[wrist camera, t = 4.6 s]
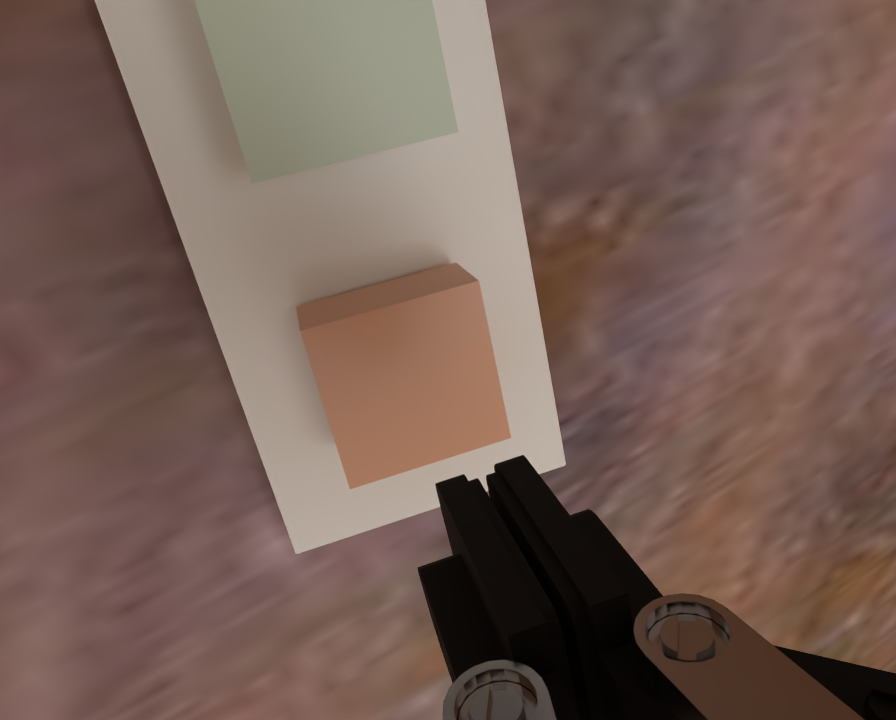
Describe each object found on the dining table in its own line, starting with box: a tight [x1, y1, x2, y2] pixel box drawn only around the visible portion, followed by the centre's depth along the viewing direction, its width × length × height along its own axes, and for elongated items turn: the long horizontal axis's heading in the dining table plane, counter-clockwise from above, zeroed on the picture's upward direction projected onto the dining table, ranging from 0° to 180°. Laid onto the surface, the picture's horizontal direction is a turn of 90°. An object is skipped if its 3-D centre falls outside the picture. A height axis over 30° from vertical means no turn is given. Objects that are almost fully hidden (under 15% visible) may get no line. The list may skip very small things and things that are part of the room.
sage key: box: [194, 0, 458, 183], centre depth 17 cm, size 5×5×2 cm
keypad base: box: [95, 0, 566, 554], centre depth 20 cm, size 30×10×2 cm, turn 12°
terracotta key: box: [296, 263, 511, 489], centre depth 21 cm, size 5×5×2 cm
